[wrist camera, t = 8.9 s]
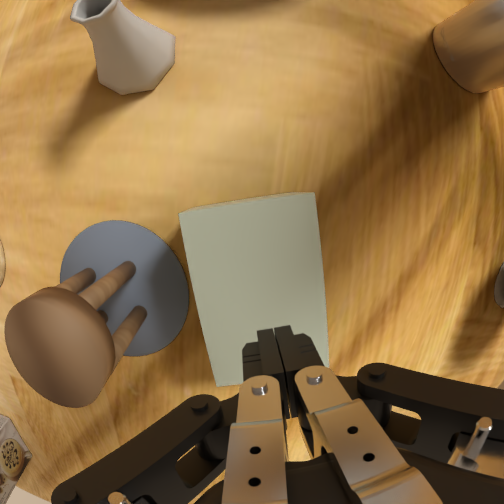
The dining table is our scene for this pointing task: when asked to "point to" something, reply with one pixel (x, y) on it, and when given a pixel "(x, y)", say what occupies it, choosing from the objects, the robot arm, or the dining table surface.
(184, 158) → the dining table surface
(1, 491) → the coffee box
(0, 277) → the hand bell
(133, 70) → the flask
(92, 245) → the mat
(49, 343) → the stool
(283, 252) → the box
